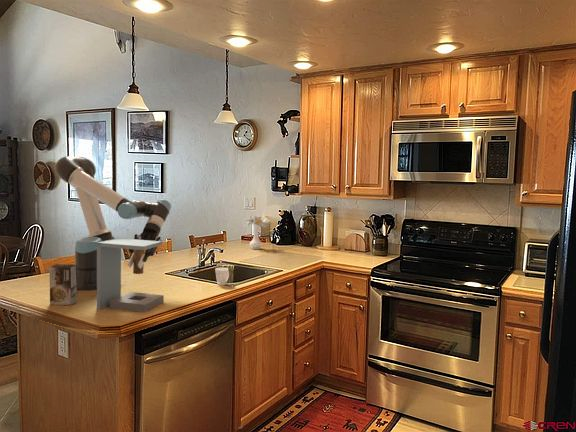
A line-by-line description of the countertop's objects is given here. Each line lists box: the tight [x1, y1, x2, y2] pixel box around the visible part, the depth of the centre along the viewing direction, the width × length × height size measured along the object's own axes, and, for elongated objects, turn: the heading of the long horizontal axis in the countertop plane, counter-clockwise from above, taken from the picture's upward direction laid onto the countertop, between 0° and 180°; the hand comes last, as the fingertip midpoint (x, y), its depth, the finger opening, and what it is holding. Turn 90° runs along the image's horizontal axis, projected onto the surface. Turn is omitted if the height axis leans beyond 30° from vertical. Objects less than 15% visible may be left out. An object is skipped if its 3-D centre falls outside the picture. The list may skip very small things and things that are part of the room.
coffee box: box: [48, 263, 78, 306], centre depth 200 cm, size 9×6×16 cm
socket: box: [109, 291, 165, 313], centre depth 202 cm, size 16×16×3 cm
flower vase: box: [246, 215, 269, 250], centre depth 362 cm, size 13×18×25 cm
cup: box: [214, 267, 230, 286], centre depth 246 cm, size 7×10×8 cm
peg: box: [132, 249, 145, 275], centre depth 218 cm, size 4×4×12 cm
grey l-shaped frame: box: [96, 237, 163, 310], centre depth 198 cm, size 21×15×28 cm
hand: (134, 266), depth 215 cm, fingers closed on peg, 4 cm apart
